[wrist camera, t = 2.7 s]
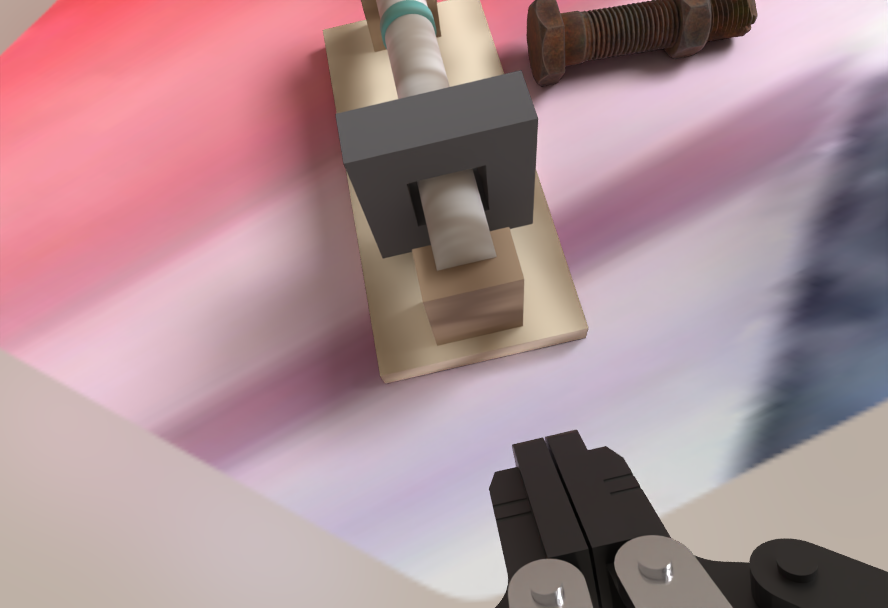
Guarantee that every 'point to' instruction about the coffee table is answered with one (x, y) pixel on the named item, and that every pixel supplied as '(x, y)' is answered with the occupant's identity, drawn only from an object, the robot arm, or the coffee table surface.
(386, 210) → the dark grey slider block
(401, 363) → the pipe stand
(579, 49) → the bolt
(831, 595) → the robot arm
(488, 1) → the coffee table surface
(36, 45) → the coffee table surface
